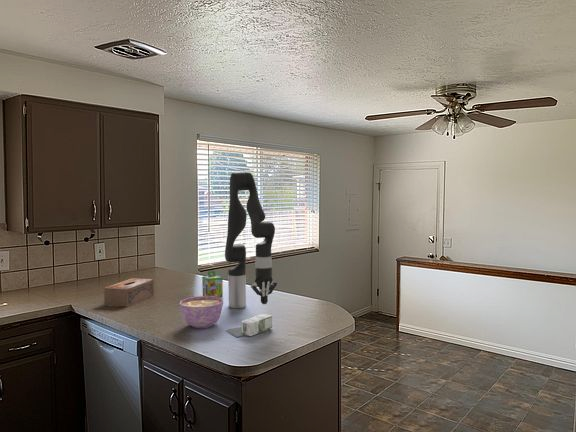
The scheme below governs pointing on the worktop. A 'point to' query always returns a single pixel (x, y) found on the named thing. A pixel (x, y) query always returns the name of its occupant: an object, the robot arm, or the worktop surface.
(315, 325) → the worktop surface
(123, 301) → the tissue box cover
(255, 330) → the syrup box
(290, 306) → the worktop surface
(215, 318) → the bowl of food
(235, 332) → the mat
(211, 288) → the green juice carton
